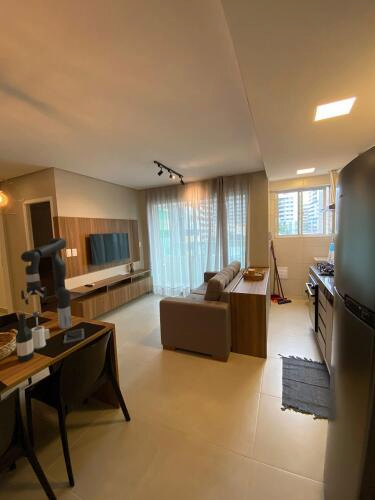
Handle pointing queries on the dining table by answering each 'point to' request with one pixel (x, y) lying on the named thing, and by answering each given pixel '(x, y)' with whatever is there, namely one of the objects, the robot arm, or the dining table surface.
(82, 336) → the picture frame
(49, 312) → the dining table surface
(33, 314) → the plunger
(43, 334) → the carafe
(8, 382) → the dining table surface
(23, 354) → the wine bottle
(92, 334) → the dining table surface
